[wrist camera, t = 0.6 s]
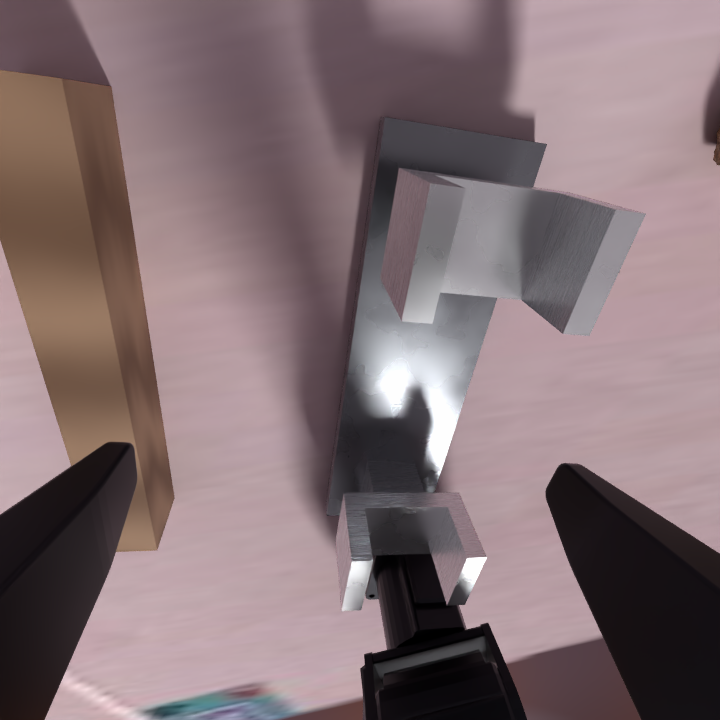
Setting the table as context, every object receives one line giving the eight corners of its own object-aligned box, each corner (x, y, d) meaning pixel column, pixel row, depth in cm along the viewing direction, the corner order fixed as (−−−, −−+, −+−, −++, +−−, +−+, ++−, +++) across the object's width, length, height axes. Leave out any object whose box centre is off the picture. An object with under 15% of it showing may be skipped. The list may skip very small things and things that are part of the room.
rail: (175, 494, 26) (156, 550, 23) (125, 494, 26) (98, 552, 22) (114, 86, 16) (61, 78, 12) (25, 75, 15) (-56, 62, 12)
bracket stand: (423, 503, 29) (460, 620, 22) (325, 503, 28) (334, 627, 21) (535, 142, 18) (678, 157, 11) (380, 117, 17) (436, 116, 10)
